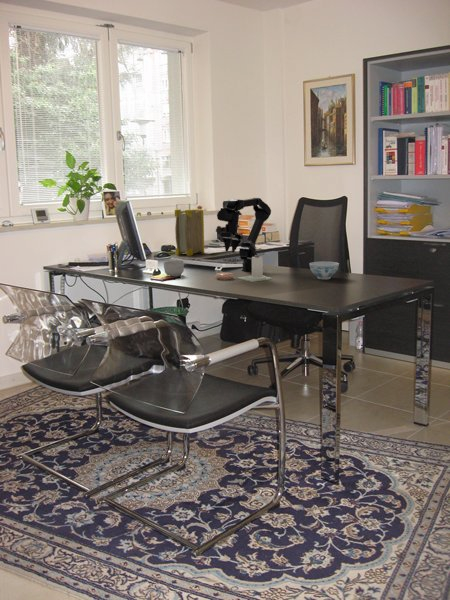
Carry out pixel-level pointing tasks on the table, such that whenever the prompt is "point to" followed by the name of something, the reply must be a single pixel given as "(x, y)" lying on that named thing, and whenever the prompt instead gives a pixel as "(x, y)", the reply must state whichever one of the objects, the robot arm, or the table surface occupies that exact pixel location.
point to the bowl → (224, 276)
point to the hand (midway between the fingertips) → (229, 251)
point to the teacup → (174, 267)
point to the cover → (257, 268)
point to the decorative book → (189, 231)
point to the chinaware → (324, 269)
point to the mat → (252, 279)
